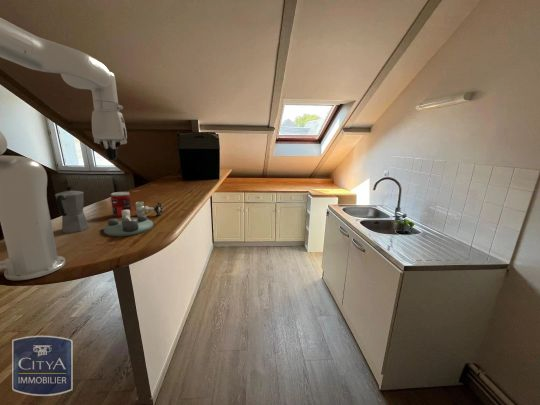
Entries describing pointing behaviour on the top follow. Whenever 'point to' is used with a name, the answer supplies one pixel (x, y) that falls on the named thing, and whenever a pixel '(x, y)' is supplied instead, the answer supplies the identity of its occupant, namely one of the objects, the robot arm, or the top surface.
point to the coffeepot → (72, 210)
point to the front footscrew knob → (128, 222)
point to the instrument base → (116, 230)
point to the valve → (147, 208)
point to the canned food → (120, 203)
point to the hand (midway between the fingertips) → (112, 159)
